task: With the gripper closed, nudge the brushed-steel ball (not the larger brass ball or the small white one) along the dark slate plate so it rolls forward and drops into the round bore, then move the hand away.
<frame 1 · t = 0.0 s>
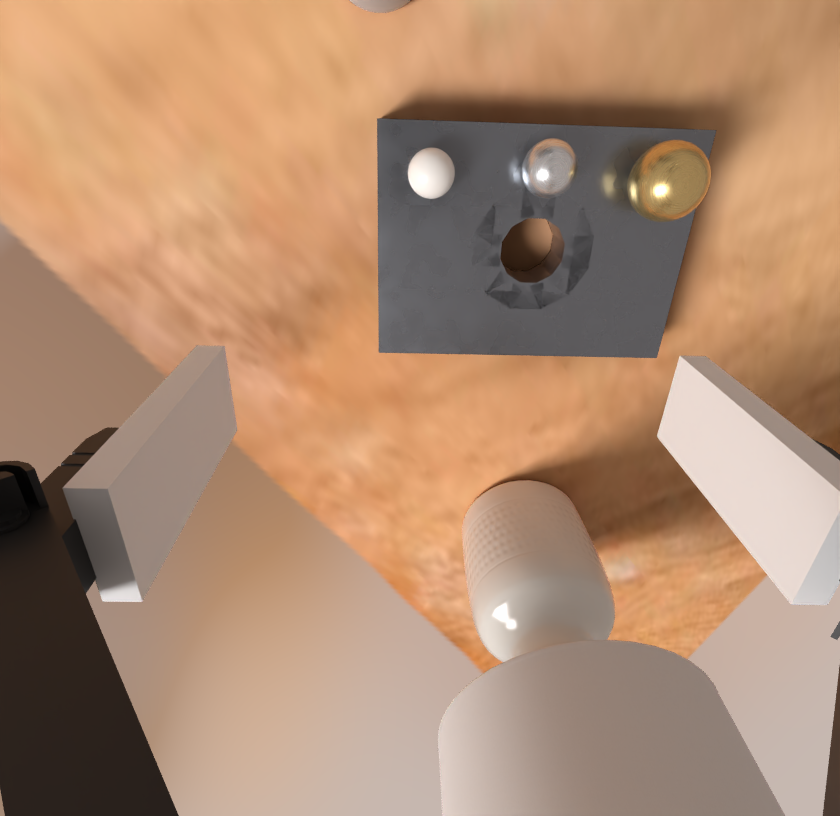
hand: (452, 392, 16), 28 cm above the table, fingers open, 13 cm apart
lamp: (518, 522, 54), on the table
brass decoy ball: (667, 182, 34), point 6 cm above the table, touching plate
steel ball: (549, 169, 34), point 5 cm above the table, touching plate
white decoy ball: (431, 173, 34), point 5 cm above the table, touching plate
plate: (522, 241, 41), on the table
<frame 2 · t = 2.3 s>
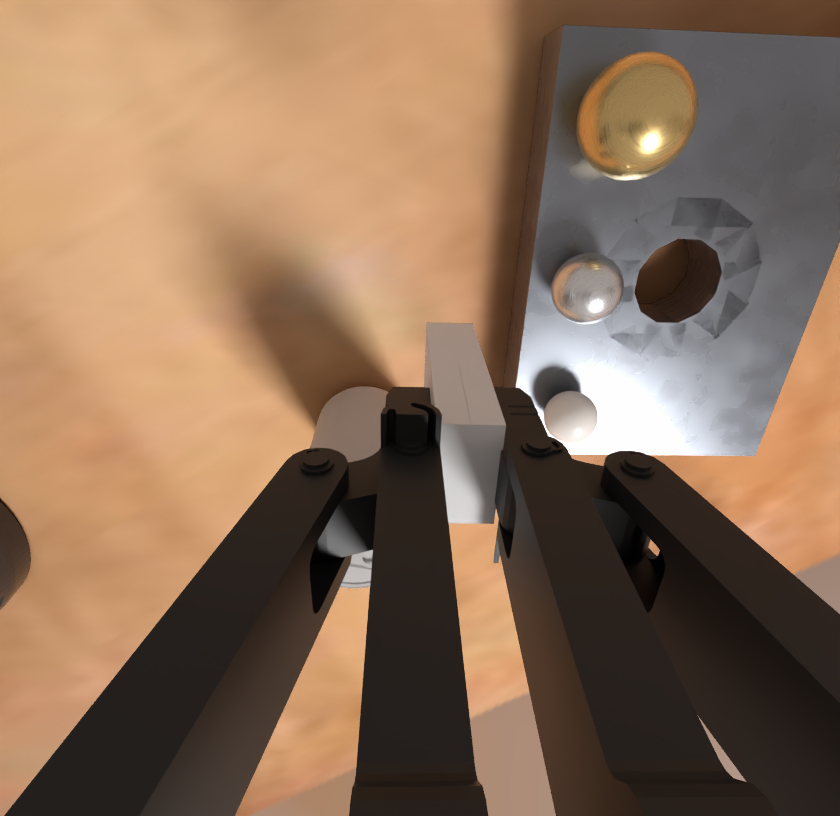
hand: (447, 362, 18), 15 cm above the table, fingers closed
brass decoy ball: (635, 119, 22), point 6 cm above the table, touching plate
steel ball: (586, 289, 27), point 5 cm above the table, touching plate
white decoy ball: (570, 416, 30), point 5 cm above the table, touching plate
beverage can: (366, 422, 36), on the table
plate: (650, 267, 31), on the table
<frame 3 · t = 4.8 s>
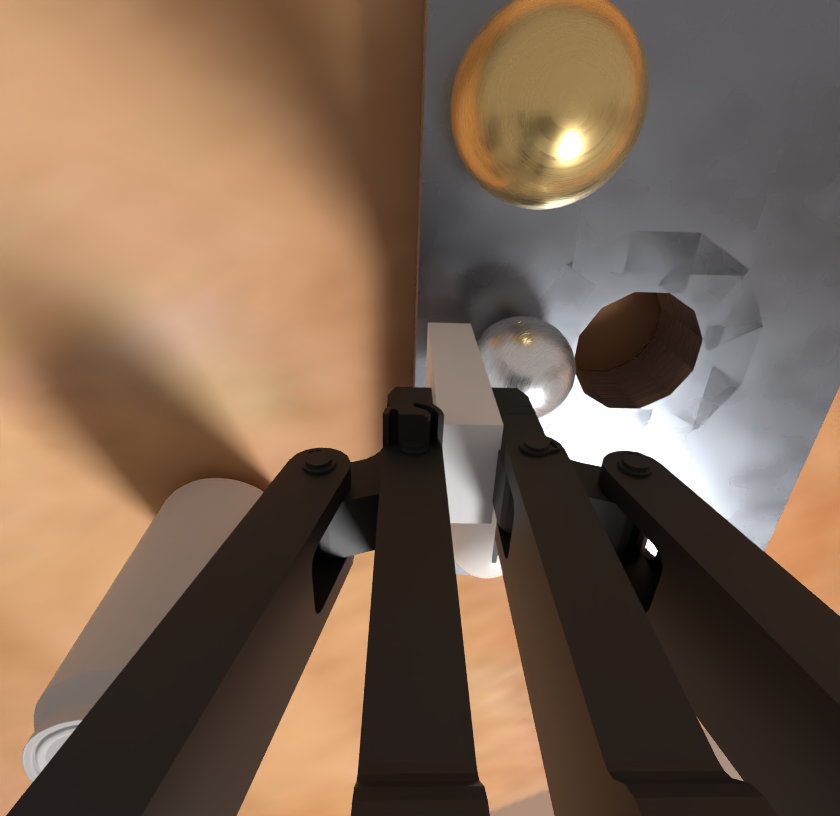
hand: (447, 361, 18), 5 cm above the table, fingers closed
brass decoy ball: (546, 108, 13), point 6 cm above the table, touching plate
steel ball: (520, 369, 17), point 5 cm above the table, tilted 28°, touching gripper, plate
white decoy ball: (485, 538, 21), point 5 cm above the table, touching plate
beverage can: (232, 517, 27), on the table
plate: (605, 321, 22), on the table
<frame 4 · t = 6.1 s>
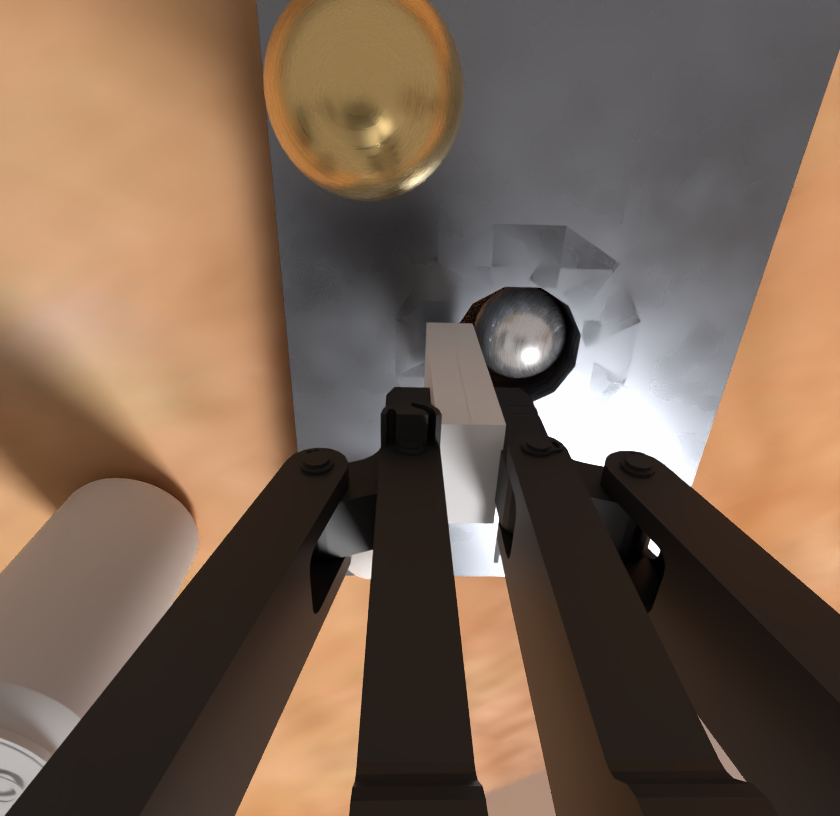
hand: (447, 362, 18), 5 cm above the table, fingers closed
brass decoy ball: (365, 96, 13), point 6 cm above the table, touching plate
steel ball: (519, 332, 20), point 2 cm above the table, tilted 132°
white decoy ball: (373, 539, 21), point 5 cm above the table, touching plate
beverage can: (141, 518, 27), on the table
plate: (499, 317, 22), on the table
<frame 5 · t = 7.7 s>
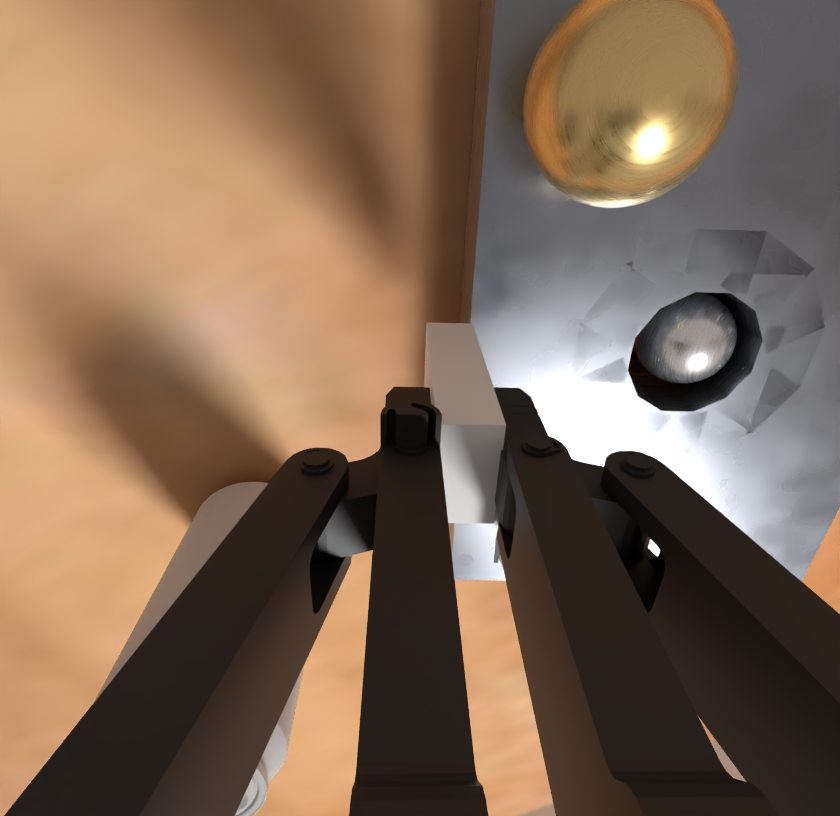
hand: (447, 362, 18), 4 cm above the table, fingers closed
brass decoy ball: (623, 102, 13), point 6 cm above the table, touching plate
steel ball: (683, 337, 20), point 2 cm above the table, tilted 134°
beverage can: (267, 521, 27), on the table
plate: (654, 322, 22), on the table
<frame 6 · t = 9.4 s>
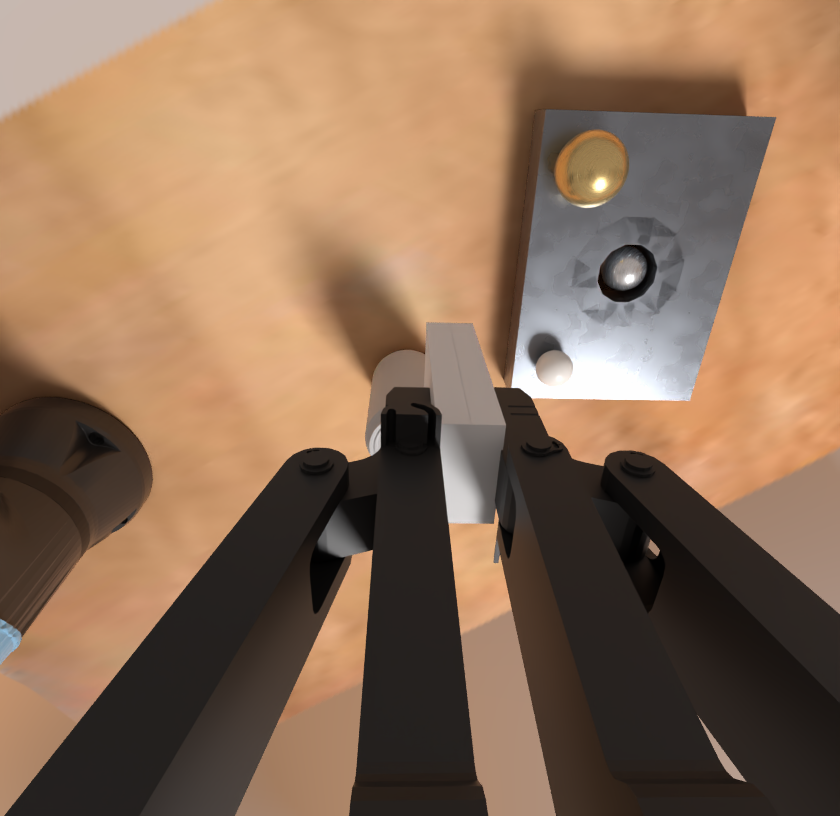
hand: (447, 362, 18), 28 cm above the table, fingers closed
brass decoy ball: (591, 169, 36), point 6 cm above the table, touching plate
steel ball: (623, 268, 43), point 2 cm above the table, tilted 136°
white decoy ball: (554, 368, 43), point 5 cm above the table, touching plate
beverage can: (407, 377, 49), on the table
plate: (612, 263, 44), on the table
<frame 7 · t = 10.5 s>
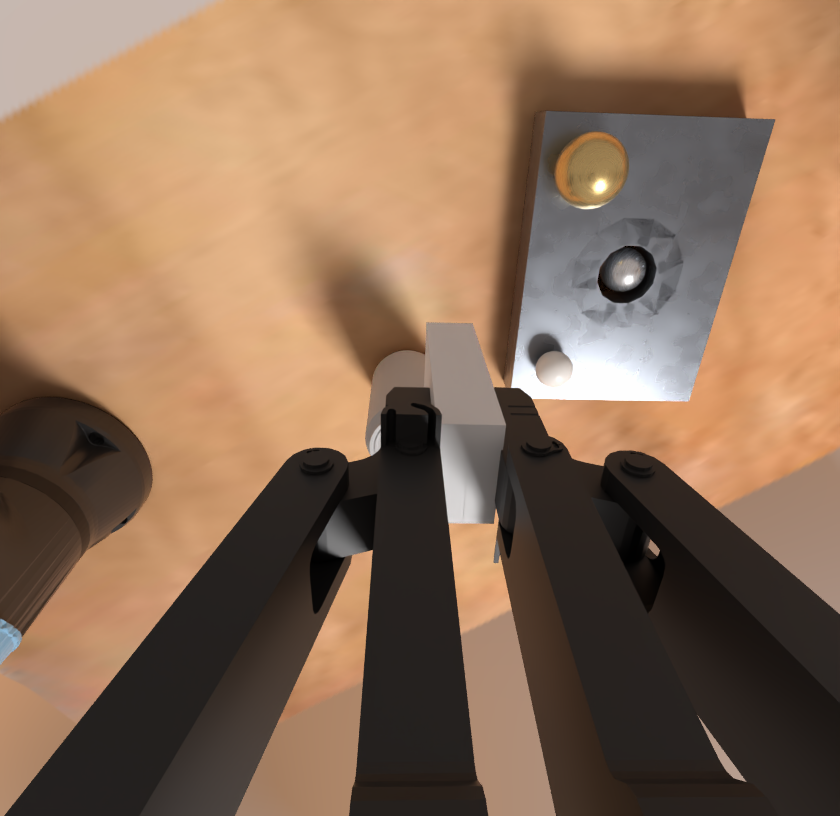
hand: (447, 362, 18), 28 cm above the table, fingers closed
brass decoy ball: (591, 171, 36), point 6 cm above the table, touching plate
steel ball: (622, 269, 43), point 2 cm above the table, tilted 138°
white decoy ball: (553, 369, 44), point 5 cm above the table, touching plate
beverage can: (407, 378, 49), on the table
plate: (611, 264, 45), on the table
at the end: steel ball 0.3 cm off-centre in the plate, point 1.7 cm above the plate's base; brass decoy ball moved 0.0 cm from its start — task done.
